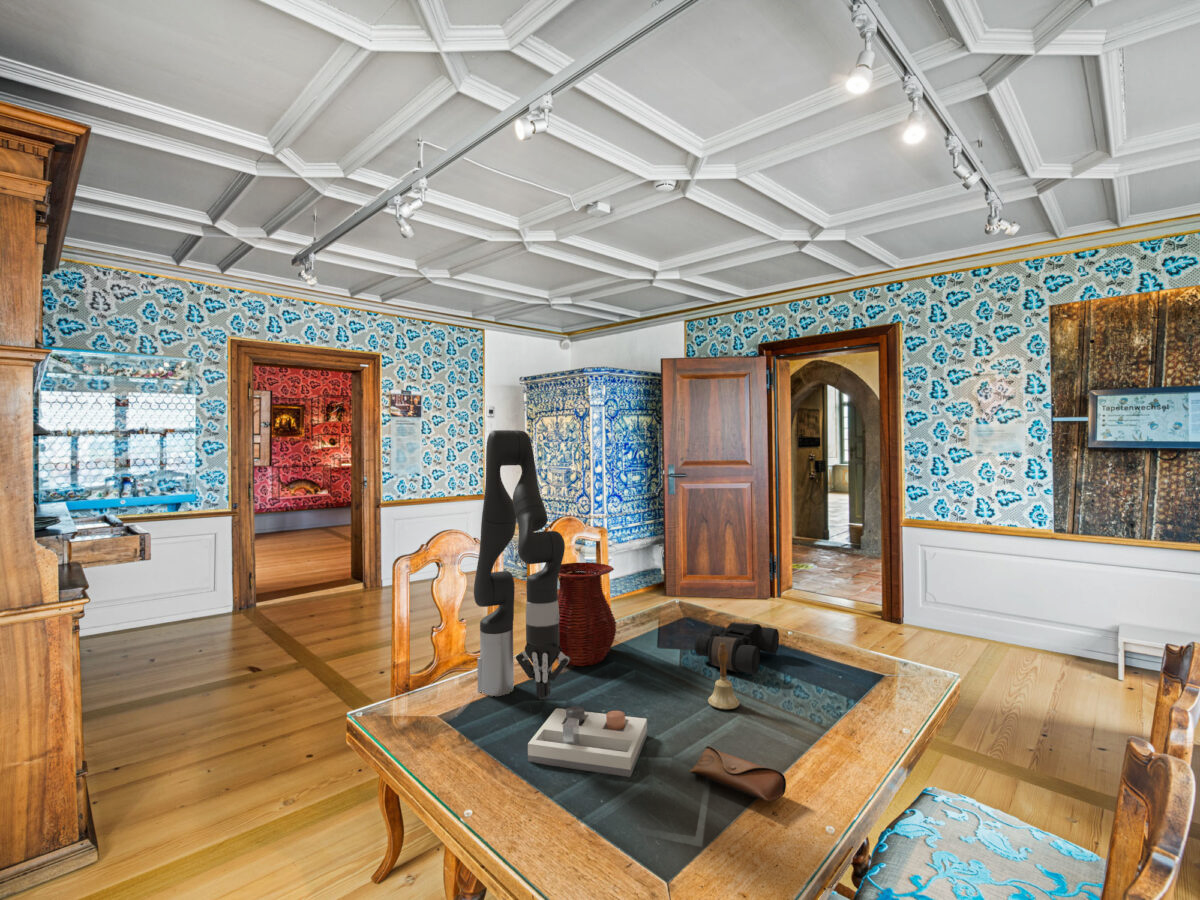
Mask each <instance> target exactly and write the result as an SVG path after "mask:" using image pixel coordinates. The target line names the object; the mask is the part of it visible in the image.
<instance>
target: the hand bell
mask: <svg viewBox="0 0 1200 900" xmlns="http://www.w3.org/2000/svg"><path fill="white" fill-rule="evenodd" d="M718 660H719V664H720V667H719V668H720V669H719V673H720V674H719V676H720V677H719V679H717V680H716V681H715V683H714V688H713V692H712V693H711V695H710V696H709V697H708V699H707V702H708V704H709V705H710V706H712V707H714V708H717V709H720V710H732V709H736V708H738V707H739V706H740V701H739V698H737V696H735V693H734V689H733V683H732V681H730V680H728V678H727V669H726V664H727V660H728V653H727V649H726V646H725V643H720V647H719V650H718Z"/></svg>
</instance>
